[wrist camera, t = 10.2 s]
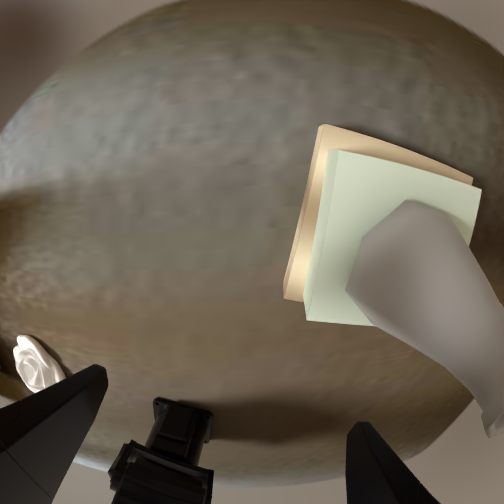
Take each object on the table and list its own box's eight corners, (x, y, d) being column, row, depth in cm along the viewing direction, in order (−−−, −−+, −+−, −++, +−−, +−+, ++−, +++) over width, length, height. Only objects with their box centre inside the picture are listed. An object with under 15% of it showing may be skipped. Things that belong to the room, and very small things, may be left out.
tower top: (421, 306, 18) (439, 328, 15) (303, 294, 18) (306, 320, 15) (455, 182, 15) (481, 189, 12) (327, 150, 15) (339, 150, 12)
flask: (476, 245, 13) (594, 336, 4) (408, 340, 15) (478, 469, 6) (399, 172, 12) (581, 244, 3) (319, 293, 14) (377, 479, 5)
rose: (19, 395, 26) (-10, 342, 23) (33, 378, 30) (9, 325, 27) (65, 419, 25) (34, 363, 22) (80, 397, 30) (55, 341, 26)
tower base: (410, 302, 21) (424, 321, 18) (283, 278, 21) (283, 298, 18) (451, 173, 17) (473, 177, 14) (317, 128, 17) (324, 123, 15)
